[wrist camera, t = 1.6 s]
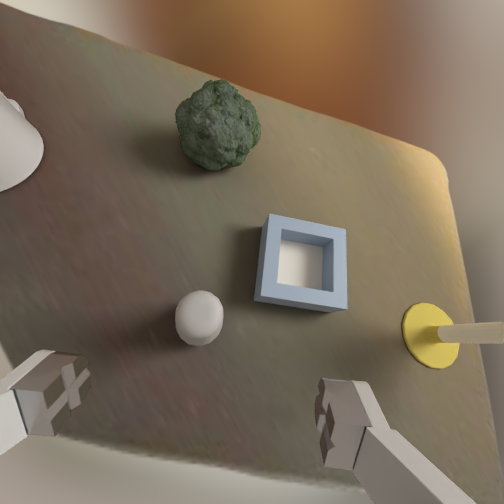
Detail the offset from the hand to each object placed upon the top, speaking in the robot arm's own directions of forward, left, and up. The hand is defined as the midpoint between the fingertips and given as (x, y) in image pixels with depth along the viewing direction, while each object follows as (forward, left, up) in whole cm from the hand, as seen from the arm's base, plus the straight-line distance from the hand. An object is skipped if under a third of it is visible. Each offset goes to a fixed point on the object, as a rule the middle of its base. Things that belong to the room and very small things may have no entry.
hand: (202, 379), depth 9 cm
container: (+12, +14, -26) cm, 31 cm away
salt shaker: (-1, +4, -26) cm, 26 cm away
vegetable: (-4, +33, -26) cm, 42 cm away
